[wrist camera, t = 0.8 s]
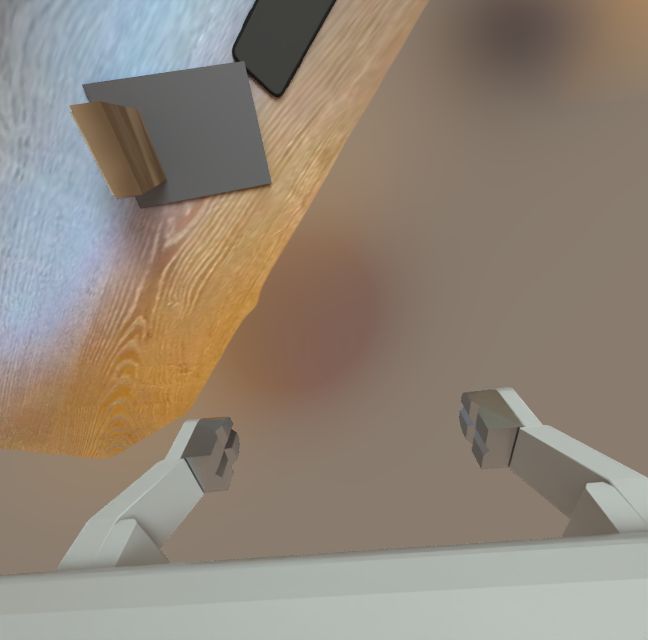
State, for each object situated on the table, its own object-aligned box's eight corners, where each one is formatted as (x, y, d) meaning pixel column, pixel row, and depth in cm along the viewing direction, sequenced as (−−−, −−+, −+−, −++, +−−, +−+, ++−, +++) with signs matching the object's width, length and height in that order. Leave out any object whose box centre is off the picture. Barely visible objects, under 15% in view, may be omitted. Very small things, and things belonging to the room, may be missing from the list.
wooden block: (144, 183, 41) (113, 199, 31) (113, 113, 36) (64, 106, 26) (167, 179, 41) (142, 194, 31) (138, 109, 37) (99, 101, 27)
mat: (141, 207, 43) (140, 208, 42) (84, 85, 35) (82, 84, 34) (271, 182, 45) (271, 183, 44) (244, 62, 37) (244, 61, 36)
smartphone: (349, -22, 35) (279, 100, 39) (347, -19, 36) (278, 101, 40) (298, -90, 31) (228, 53, 36) (297, -85, 32) (228, 55, 36)
